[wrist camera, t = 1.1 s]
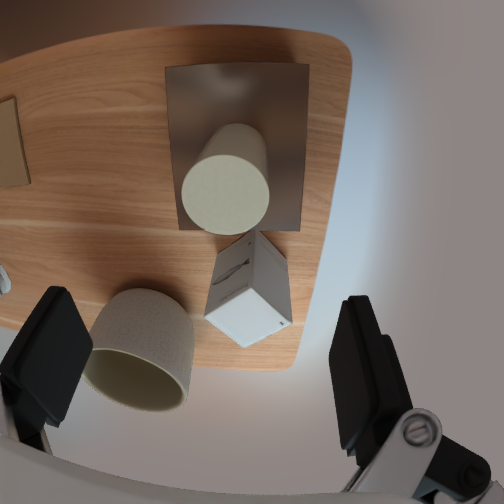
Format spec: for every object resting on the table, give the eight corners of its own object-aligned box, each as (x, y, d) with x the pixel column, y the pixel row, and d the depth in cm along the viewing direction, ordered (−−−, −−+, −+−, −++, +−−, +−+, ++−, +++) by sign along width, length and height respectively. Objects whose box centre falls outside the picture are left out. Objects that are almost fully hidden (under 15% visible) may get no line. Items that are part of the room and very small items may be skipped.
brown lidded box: (190, 66, 30) (164, 67, 22) (296, 65, 30) (309, 64, 22) (197, 191, 39) (179, 230, 31) (291, 192, 39) (299, 231, 31)
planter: (205, 284, 48) (188, 364, 35) (198, 350, 57) (186, 420, 44) (103, 265, 46) (63, 334, 34) (114, 333, 56) (89, 397, 43)
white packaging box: (255, 224, 42) (253, 286, 31) (288, 260, 45) (295, 325, 34) (215, 253, 45) (201, 317, 34) (248, 285, 48) (244, 350, 37)
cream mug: (206, 123, 25) (177, 156, 17) (267, 123, 25) (270, 154, 17) (210, 197, 29) (188, 259, 21) (265, 197, 29) (267, 260, 21)
